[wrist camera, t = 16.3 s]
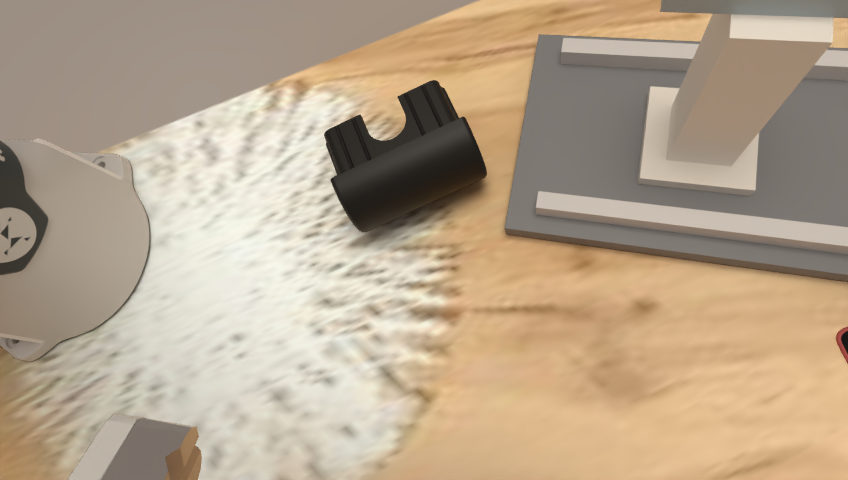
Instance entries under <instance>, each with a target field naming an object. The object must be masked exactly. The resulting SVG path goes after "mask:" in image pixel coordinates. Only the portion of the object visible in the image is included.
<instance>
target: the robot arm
mask: <svg viewBox="0 0 848 480" xmlns="http://www.w3.org/2000/svg"><path fill="white" fill-rule="evenodd" d="M148 248H149V224H148V219H147V215H146V212H145V209H144V207H143V205H142V203H141V201H140V200H139V198H138V196H137V195H136V193H135V191H134V188H133V183H132V170H131V165H130V162H129V161H128V159H126V158H124V157H122V156H120V155H117V154H107V153H82V152H69V151H67V150H64V149H62V148H60V147H58V146H56V145H54V144H52V143H50V142H47V141H45V140H42V139H38V138H36V139H34V140H32V141H30V140H8V141H0V346H1V347H2V348H4V349H5V350H6V351H7V352H8V353H10V354H11V355H12V356H13V357H15V358H16V359H20V360H24V361H34V360H36V359H38V358H40V357H41V356H42V355H44V354H45V353H47V352H48V351H49V350H50V349H51V348H53V347H54V346H55V345H56V344H57V343H59V342H61V341H63V340H65V339H68V338H71V337H74V336H77V335H80V334H83V333H86V332H88V331H90V330H92V329H94V328H95V327H97V326H99V325H100V324H102V323H103V322H104V321H106V320H107V319H108V318H110V317H111V316H112V315H113V314H114V313H115V312H116V311H117V310H118V309H119V308H120V307H121V306H122V305H123V303H124V302H125V301H126V300H127V298H128V297H129V295H130V294H131V293H132V291H133V289H134V288H135V286H136V284H137V282H138V280H139V278H140V276H141V274H142V271H143V268H144V265H145V262H146V258H147V254H148ZM198 437H199V436H198V431H197V426H190V425H184V424H177V423H171V422H164V421H158V420H151V419H146V418H142V417H135V416H128V415H121V414H113V415H112V416H111V417H110V418H109V419H108V420H107V421H106V422H105V423H104V424H103V426H102V428H101V429H100V431H99V432H98V434H97V435H96V437H95V438H94V440H93V441H92V443H91V444H90V446H89V447H88V449H87V450H86V452H85V453H84V455H83V457H82V458H81V460H80V461H79V463H78V464H77V466H76V467H75V469H74V470H73V472H72V473H71V475H70V476H69V478H68V479H67V480H198V476H199V473H200V469H201V459H202V457H201V450H200V449H199V448H198V447H196V446H195V444H196V441H197V439H198Z"/></svg>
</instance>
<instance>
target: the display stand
mask: <svg viewBox="0 0 848 480" xmlns="http://www.w3.org/2000/svg"><path fill="white" fill-rule="evenodd" d="M660 12H681V13H711V14H713V15H712V17H711V19H710V22H709V24H708V26H707V28H706V31H705V33H704V35H703V37H702V39H701V42H700V44H699V46H698V48H697V51H696V53H695V55H694V57H693V60H692V62H691V64H690V66H689V69H688V71H687V73H686V75H685V78H684V80H683V82H682V84H681V86H680V88H668V87H653V86H650V89H649V92H648V96H647V105H646V113H645V122H644V131H643V139H642V148H641V156H640V165H639V173H638V182H637V184H645V185H654V186H663V187H672V188H681V189H690V190H699V191H709V192H718V193H727V194H736V195H745V196H750V195H751V194H752V193H753V192H754V191H755V190H756V174H757V157H758V141H759V132H760V131H761V129H762V128H763V127H764V126H765V125H766V123H767V122H768V121H769V120H770V118H771V117H772V116H773V115H774V114H775V112H776V111H777V110H778V109H779V107H780V106H781V105H782V104H783V103H784V101H785V100H786V99H787V98H788V96H789V95H790V94H791V93H792V92H793V90H794V89H795V88H796V87H797V85H798V84H799V83H800V82H801V81H802V79H803V78H804V77H805V76H806V74H807V73H808V72H809V71H810V70H811V68H812V67H813V66H814V65H815V63H816V62H817V61H818V60H819V59H820V57H821V56H822V55H823V54H824V52H825V51H826V50H827V49H828V48H829V46H830V45H831V44H832V43H833V18H848V0H662V2H661V10H660Z"/></svg>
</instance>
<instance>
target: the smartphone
mask: <svg viewBox="0 0 848 480" xmlns="http://www.w3.org/2000/svg"><path fill="white" fill-rule="evenodd" d="M836 341H837V343H838V346H839V348H840V350H841V352H842V354H843V355H844V357H845V359H846V361H847V363H848V327H846V328H843V329H842V330H840V331H839V332H838V333H837V336H836Z"/></svg>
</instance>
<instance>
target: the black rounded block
mask: <svg viewBox="0 0 848 480" xmlns="http://www.w3.org/2000/svg"><path fill="white" fill-rule="evenodd" d="M398 99H399V101H400V103H401V106H402V108H403V110H404V112H405V115H406V124H405V127H404V129H403V131H402V132H401V133H400V134H399V135H398V136H397V137H395V138H393V139H391V140H387V141H380V140H376V139H374V138H373V137H371V136H370V135H369V133H368V130H367V128H366V125H365V123H364V121H363V118H362V116H361V115H358V116H356V117H354V118H351V119H349V120H347V121H345V122H343V123H341V124H339V125H337V126H335V127H333V128H330V129H329V130H327V131H326V132H325V134H324V136H325V139H326V146H327V149H328V151H329V154H330V157H331V159H332V162H333V165H334V167H335V170H336V173H337V176H335V177H333V178H332V179H331V182H332V185H333V187H334V190H335V192H336V194H337V196H338V199H339V201H340V203H341V205H342V206H343V208H344V210H345V212H346V214H347V215H348V217H349V218H350V220H351V221H352V223H353V224H354V226H355V227H356V228H357V229H358V230H359V231H361V232H367V231H370V230H372V229H374V228H376V227H378V226H380V225H383V224H385V223H387V222H389V221H391V220H394V219H396V218H398V217H400V216H402V215H405V214H407V213H409V212H411V211H413V210H415V209H418V208H420V207H422V206H424V205H426V204H429V203H431V202H433V201H435V200H437V199H440V198H442V197H444V196H446V195H448V194H450V193H453V192H455V191H457V190H459V189H461V188H464V187H466V186H468V185H470V184H472V183H475V182H477V181H479V180H481V179H483V178H485V177H486V175H487V171H486V167H485V164H484V161H483V158H482V155H481V153H480V150H479V147H478V145H477V143H476V140H475V138H474V136H473V133H472V131H471V129H470V127H469V125H468V122H467V120H466V118H465V117H461V118H459V117H458V115H457V113H456V111H455V109H454V107H453V105H452V103H451V101H450V99H449V97H448V95H447V93H446V91H445V89H444V88H442V87H441V86H440V84H439V82H438V81H435V80H433V81H429V82H427V83H425V84H423V85H421V86H419V87H417V88H415V89H412V90H410V91H408V92H406V93H404V94H402V95H400V96H398Z"/></svg>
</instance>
